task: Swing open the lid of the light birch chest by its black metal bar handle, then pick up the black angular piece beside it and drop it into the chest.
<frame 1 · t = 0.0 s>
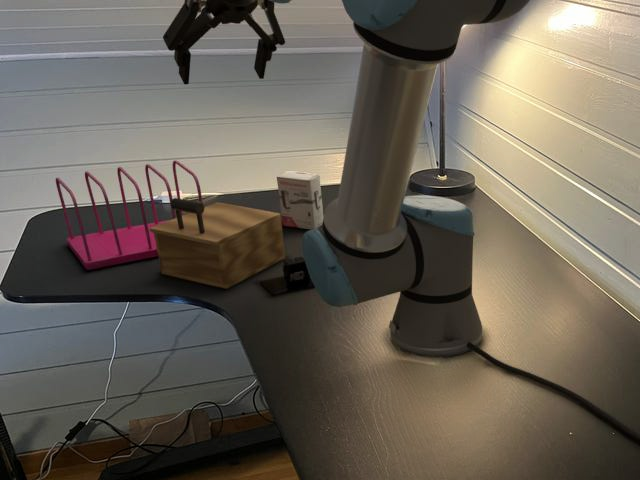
hand: (222, 76, 130), 36 cm above the table, tool tilted 35°, fingers open, 13 cm apart
ink box: (303, 226, 169), on the table
file sorter: (141, 247, 155), on the table
black angular piece: (297, 283, 140), on the table
chest: (225, 265, 147), on the table
chest lid: (215, 207, 140), point 12 cm above the table, hinge at 0.0°
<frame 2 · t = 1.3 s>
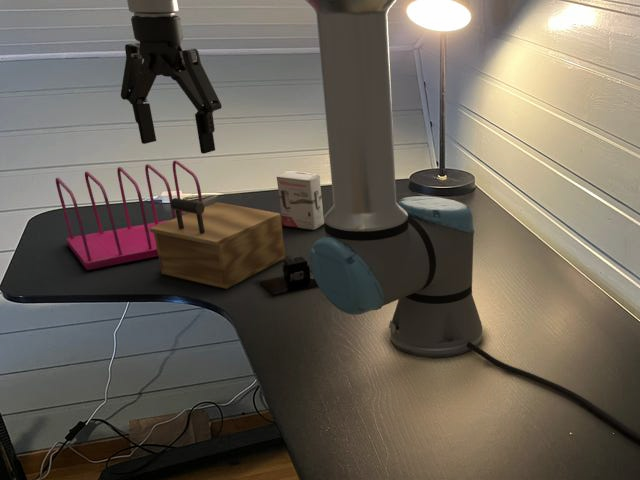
hand: (178, 147, 129), 25 cm above the table, tool pointing down, fingers open, 13 cm apart
nothing on the table moved.
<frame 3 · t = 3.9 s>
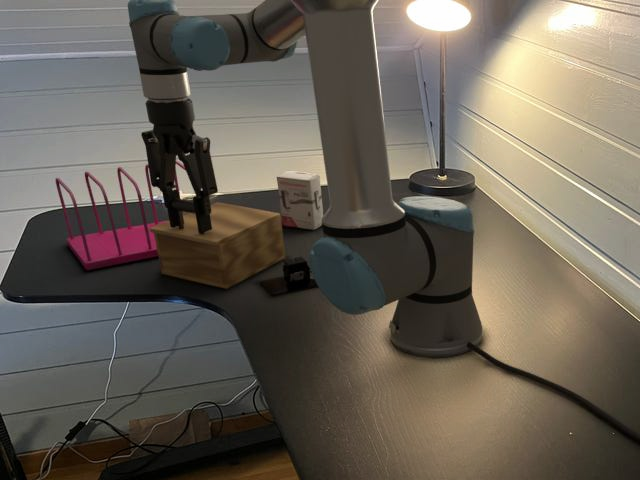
hand: (191, 227, 136), 10 cm above the table, tool pointing down, fingers closed on chest lid, 6 cm apart
chest lid: (215, 207, 140), point 12 cm above the table, hinge at 0.0°, touching gripper
everything else where it was.
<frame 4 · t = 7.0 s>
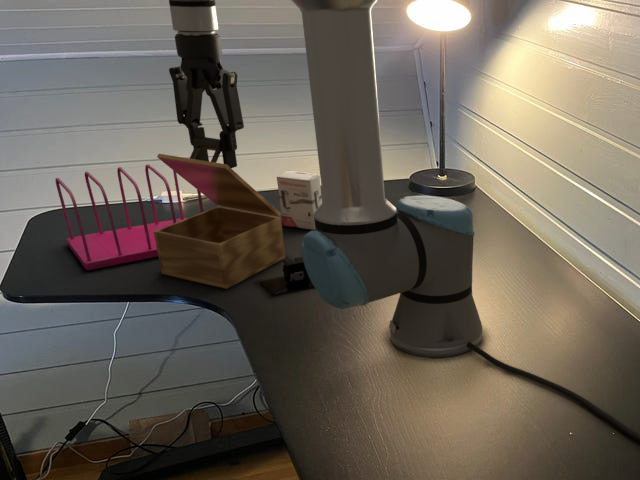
hand: (216, 165, 138), 20 cm above the table, tool pointing down, fingers closed on chest lid, 6 cm apart
chest lid: (227, 173, 141), point 18 cm above the table, hinge at 44.1°, touching gripper
everything else where it was.
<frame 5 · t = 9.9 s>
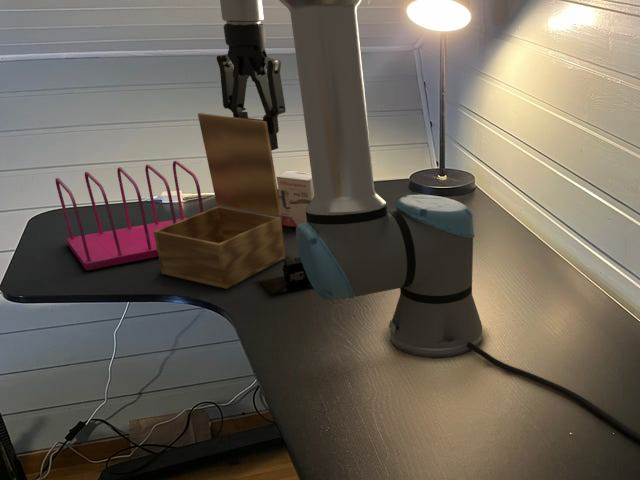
hand: (258, 147, 148), 21 cm above the table, tool pointing down, fingers closed on chest lid, 6 cm apart
chest lid: (249, 160, 146), point 19 cm above the table, hinge at 86.0°, touching gripper
everything else where it was.
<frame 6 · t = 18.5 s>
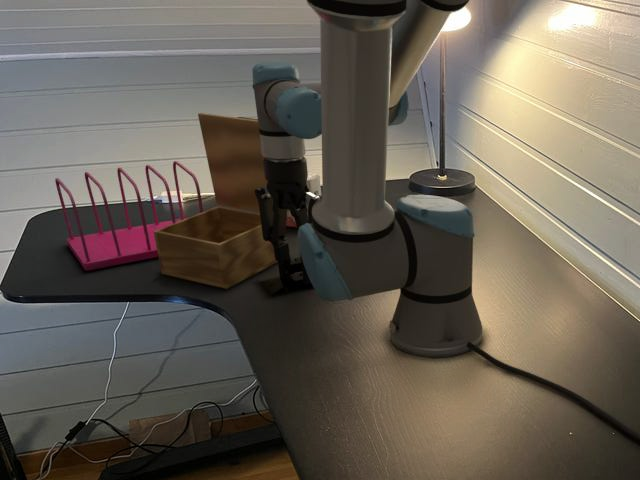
hand: (297, 279, 140), 1 cm above the table, tool pointing down, fingers closed on black angular piece, 5 cm apart
black angular piece: (297, 284, 140), on the table, touching gripper
chest lid: (249, 160, 146), point 19 cm above the table, hinge at 86.1°
everything else where it was.
when the fingers open (6 cm above the table, at t = 26.0 s): black angular piece drops 5 cm, resting on chest.
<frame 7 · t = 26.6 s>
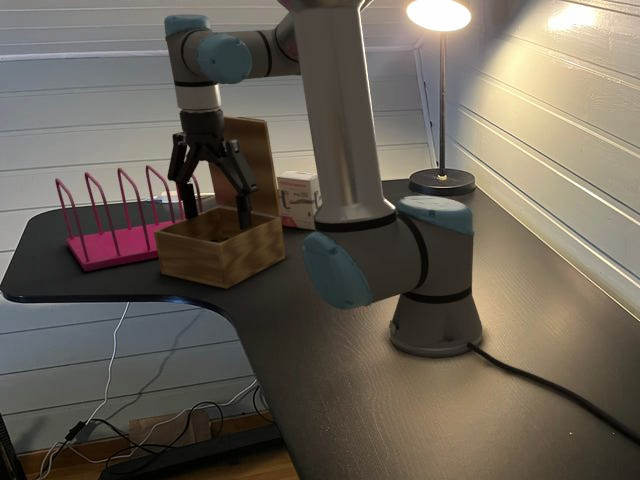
hand: (218, 222, 142), 9 cm above the table, tool pointing down, fingers open, 13 cm apart
black angular piece: (224, 263, 146), point 1 cm above the table, touching chest
everything else where it was.
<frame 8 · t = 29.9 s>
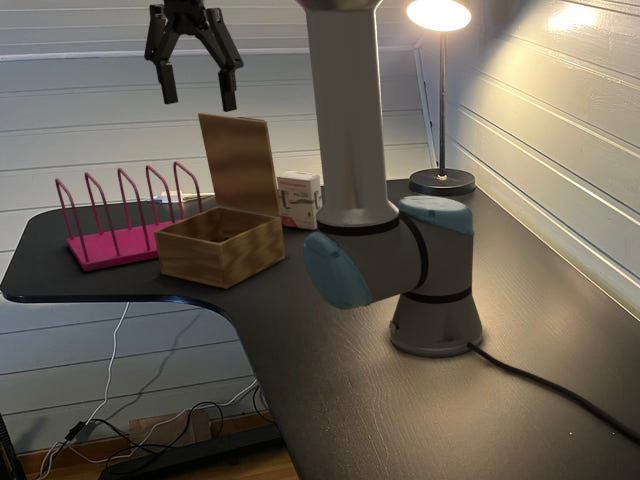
hand: (200, 107, 132), 31 cm above the table, tool pointing down, fingers open, 13 cm apart
nothing on the table moved.
at the end: chest lid at +86° (first picture: +0°); black angular piece inside the target area in the chest (0.1 cm from its centre), point 0.5 cm above the chest's base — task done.
